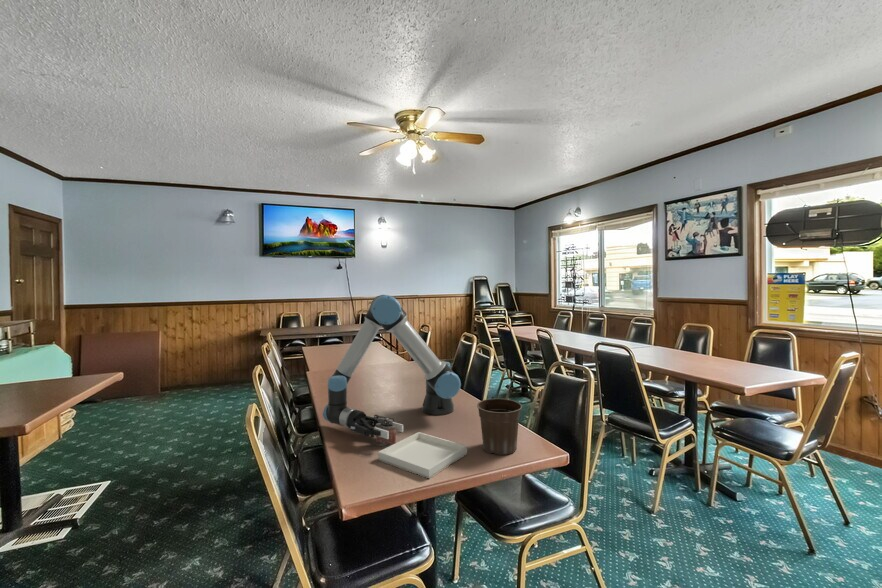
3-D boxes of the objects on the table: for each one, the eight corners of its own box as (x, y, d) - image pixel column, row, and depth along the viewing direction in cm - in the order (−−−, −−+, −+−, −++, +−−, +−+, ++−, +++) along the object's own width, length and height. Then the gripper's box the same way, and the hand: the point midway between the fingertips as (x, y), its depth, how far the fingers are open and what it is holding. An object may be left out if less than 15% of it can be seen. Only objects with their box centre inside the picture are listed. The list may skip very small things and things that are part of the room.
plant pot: (491, 461, 131) (491, 414, 131) (469, 443, 146) (469, 401, 145) (530, 453, 137) (531, 408, 137) (505, 437, 152) (505, 396, 152)
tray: (418, 439, 150) (418, 431, 150) (467, 454, 137) (467, 445, 137) (378, 460, 132) (378, 451, 132) (429, 479, 119) (429, 469, 119)
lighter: (397, 444, 145) (397, 418, 145) (393, 448, 142) (393, 421, 142) (378, 441, 148) (378, 415, 148) (374, 445, 145) (374, 418, 144)
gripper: (371, 421, 163) (413, 433, 150) (333, 436, 147) (375, 451, 134) (371, 403, 163) (413, 414, 150) (333, 416, 147) (375, 430, 134)
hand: (395, 431), depth 142 cm, fingers open, 7 cm apart
